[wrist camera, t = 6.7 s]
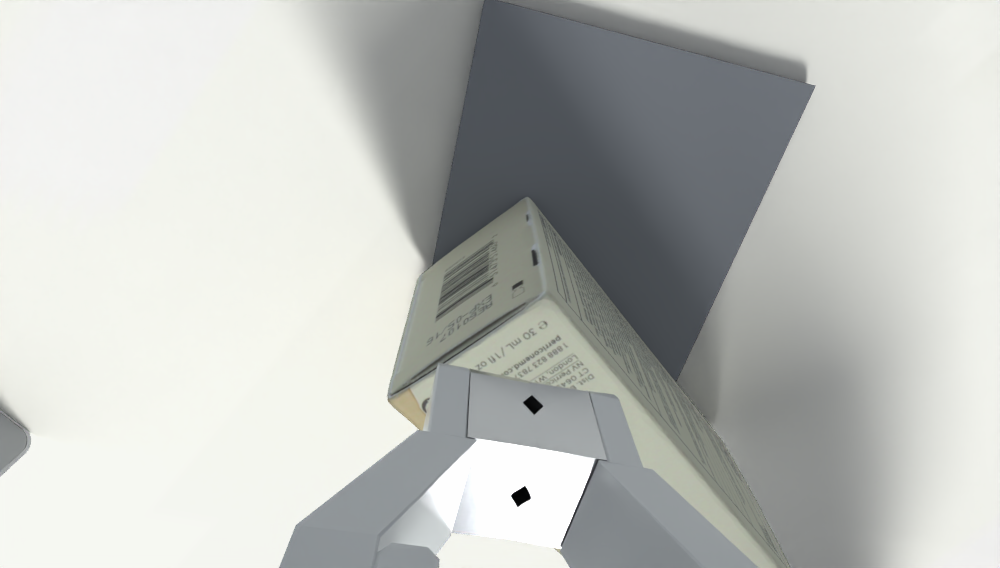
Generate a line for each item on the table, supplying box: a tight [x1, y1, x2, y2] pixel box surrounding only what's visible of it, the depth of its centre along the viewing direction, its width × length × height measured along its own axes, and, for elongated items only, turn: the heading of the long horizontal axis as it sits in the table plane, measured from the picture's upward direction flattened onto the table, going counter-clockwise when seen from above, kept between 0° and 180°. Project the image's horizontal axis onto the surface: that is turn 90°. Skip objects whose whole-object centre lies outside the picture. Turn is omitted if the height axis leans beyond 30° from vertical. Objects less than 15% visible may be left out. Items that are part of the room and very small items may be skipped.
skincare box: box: [387, 197, 790, 568], centre depth 15 cm, size 6×4×12 cm
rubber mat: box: [432, 0, 815, 382], centre depth 16 cm, size 9×12×1 cm
